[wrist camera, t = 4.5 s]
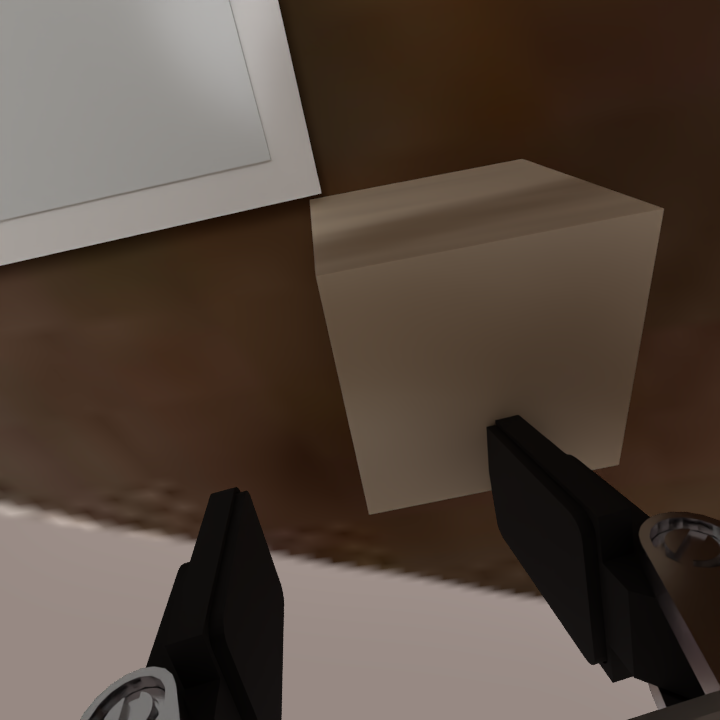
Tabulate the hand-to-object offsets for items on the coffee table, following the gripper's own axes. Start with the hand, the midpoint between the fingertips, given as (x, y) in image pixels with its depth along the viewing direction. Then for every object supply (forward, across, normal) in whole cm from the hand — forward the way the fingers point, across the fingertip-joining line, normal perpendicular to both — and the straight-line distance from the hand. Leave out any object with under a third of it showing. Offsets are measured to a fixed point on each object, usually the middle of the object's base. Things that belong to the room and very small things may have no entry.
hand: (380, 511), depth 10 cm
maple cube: (-1, -3, -2) cm, 4 cm away
